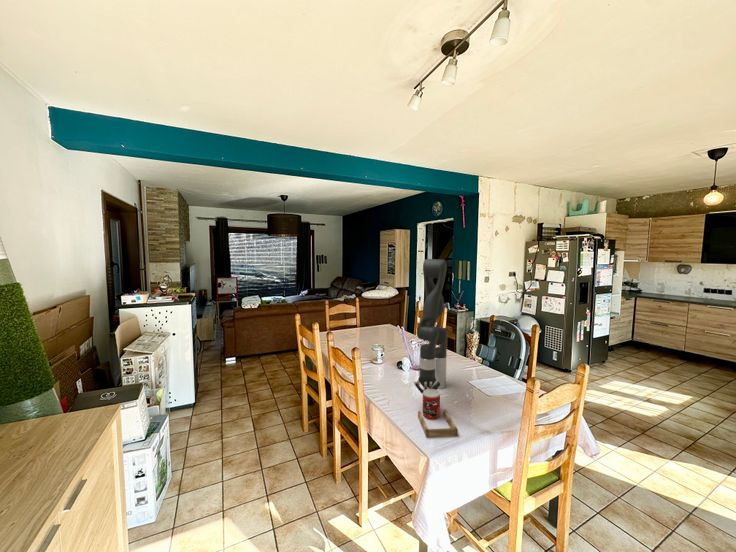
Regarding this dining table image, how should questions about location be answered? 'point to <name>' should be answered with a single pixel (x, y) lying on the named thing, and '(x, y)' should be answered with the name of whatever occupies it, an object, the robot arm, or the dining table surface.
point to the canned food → (431, 403)
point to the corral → (439, 432)
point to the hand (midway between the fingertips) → (426, 400)
